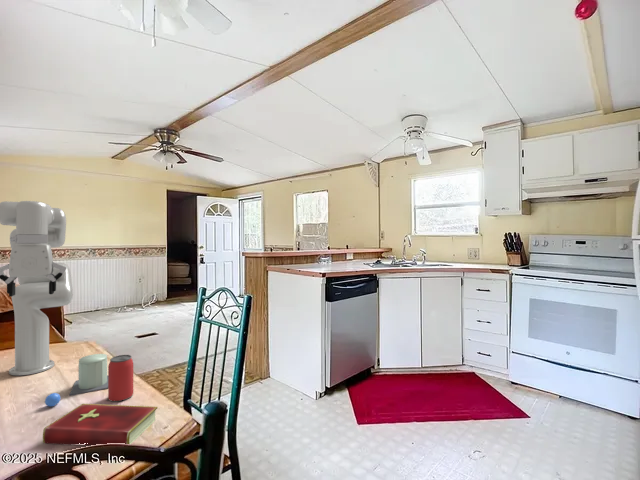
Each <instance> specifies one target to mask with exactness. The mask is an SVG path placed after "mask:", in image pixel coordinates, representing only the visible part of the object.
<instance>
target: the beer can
mask: <svg viewBox="0 0 640 480" xmlns="http://www.w3.org/2000/svg"><path fill="white" fill-rule="evenodd" d="M132 358H133V357H132V355H131V354H120V355H116V356H113V357H111V358H110V361H109V363H108V365H107V376H108V391H107V392H108V393H107V395H108V396H107V398H108V401H111V402H115V403H116V402H122V400H123V401H125V399H126V400H127V399H130V398H131V397H132V396H133V395H134V362H133V361H134V360H133V359H132Z"/></svg>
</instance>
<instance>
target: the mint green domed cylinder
mask: <svg viewBox="0 0 640 480" xmlns="http://www.w3.org/2000/svg"><path fill="white" fill-rule="evenodd" d="M107 376H108V355H107V354H106V353H95V354H90V355H84V356H83V357H80V358H79V360H78V380H79V388H81V389H90V388H96V387H99V386H102V385H104V384H105V383H107Z"/></svg>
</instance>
